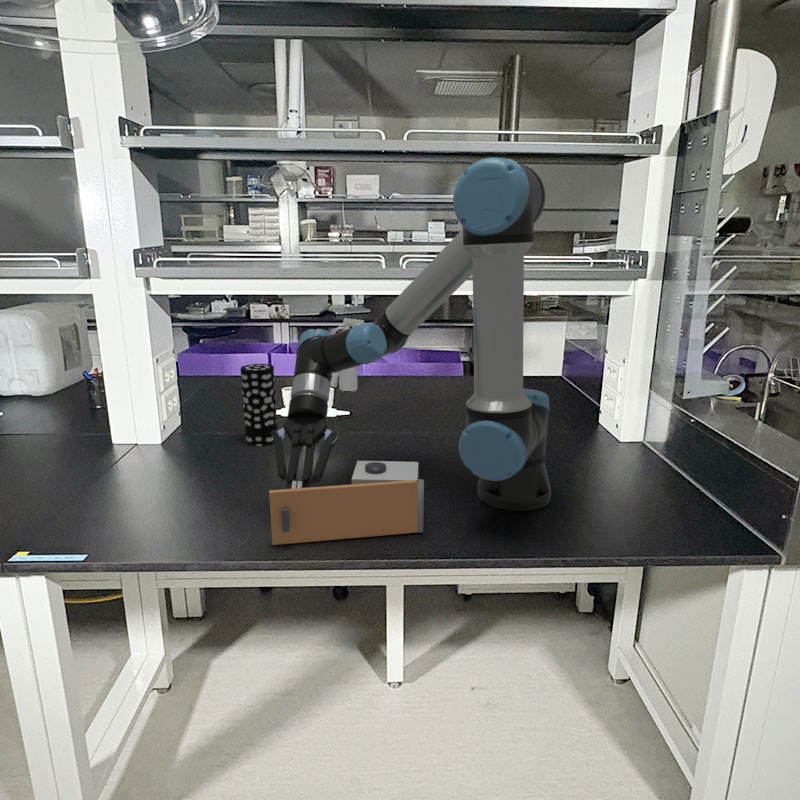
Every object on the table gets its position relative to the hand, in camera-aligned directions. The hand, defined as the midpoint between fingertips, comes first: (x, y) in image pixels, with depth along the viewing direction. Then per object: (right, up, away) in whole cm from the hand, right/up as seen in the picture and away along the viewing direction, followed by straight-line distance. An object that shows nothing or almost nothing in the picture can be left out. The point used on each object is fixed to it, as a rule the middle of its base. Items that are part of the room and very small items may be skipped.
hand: (294, 517), depth 105 cm
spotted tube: (-18, +10, +50) cm, 54 cm away
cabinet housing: (+16, -2, +9) cm, 19 cm away
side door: (+10, -4, 0) cm, 11 cm away
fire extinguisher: (0, +25, +101) cm, 104 cm away
